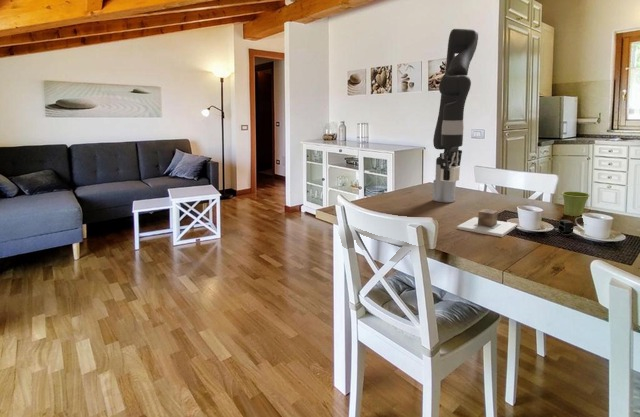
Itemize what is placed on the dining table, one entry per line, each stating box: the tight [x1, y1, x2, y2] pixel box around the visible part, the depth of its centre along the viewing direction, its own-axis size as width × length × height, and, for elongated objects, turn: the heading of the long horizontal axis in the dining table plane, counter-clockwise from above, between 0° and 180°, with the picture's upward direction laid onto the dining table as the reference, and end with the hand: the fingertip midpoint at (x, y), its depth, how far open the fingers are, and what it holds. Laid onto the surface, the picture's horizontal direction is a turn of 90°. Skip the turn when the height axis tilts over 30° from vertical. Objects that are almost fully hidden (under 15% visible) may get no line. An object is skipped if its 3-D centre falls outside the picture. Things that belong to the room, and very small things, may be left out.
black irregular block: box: [554, 219, 575, 234], centre depth 146 cm, size 12×7×5 cm, turn 177°
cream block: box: [440, 166, 461, 182], centre depth 156 cm, size 5×5×5 cm
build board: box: [456, 216, 519, 238], centre depth 153 cm, size 16×16×1 cm
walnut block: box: [477, 208, 499, 227], centre depth 153 cm, size 5×5×5 cm
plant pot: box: [561, 190, 591, 218], centre depth 167 cm, size 9×9×9 cm
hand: (449, 178), depth 156 cm, fingers closed on cream block, 5 cm apart
